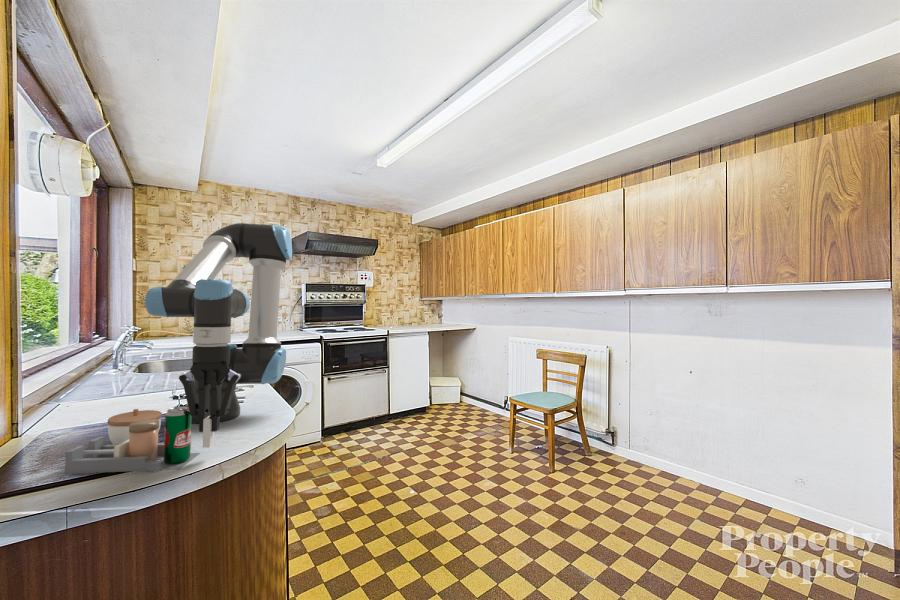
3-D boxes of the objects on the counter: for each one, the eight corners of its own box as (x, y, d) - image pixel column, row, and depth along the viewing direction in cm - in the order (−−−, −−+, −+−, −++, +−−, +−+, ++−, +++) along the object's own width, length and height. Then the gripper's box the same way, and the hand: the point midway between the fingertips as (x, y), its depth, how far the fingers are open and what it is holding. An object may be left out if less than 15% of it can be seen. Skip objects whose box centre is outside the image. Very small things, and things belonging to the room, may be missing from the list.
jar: (137, 457, 89) (139, 419, 90) (163, 457, 90) (164, 419, 90) (121, 467, 84) (123, 426, 84) (148, 466, 85) (150, 426, 85)
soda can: (176, 466, 85) (178, 412, 86) (157, 464, 86) (159, 410, 87) (195, 457, 90) (197, 406, 90) (177, 455, 91) (179, 405, 92)
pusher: (85, 457, 88) (85, 438, 88) (137, 455, 90) (138, 436, 90) (61, 468, 82) (62, 448, 82) (118, 466, 84) (119, 446, 84)
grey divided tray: (102, 455, 91) (103, 434, 91) (203, 452, 94) (203, 432, 94) (60, 477, 80) (61, 453, 80) (176, 473, 83) (177, 450, 83)
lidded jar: (157, 435, 105) (158, 401, 105) (163, 446, 98) (165, 410, 98) (105, 445, 98) (106, 408, 98) (107, 457, 90) (109, 418, 90)
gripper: (172, 346, 85) (169, 452, 85) (235, 346, 87) (232, 450, 87) (190, 342, 92) (186, 440, 92) (247, 343, 94) (244, 438, 94)
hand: (208, 445), depth 89 cm, fingers closed
